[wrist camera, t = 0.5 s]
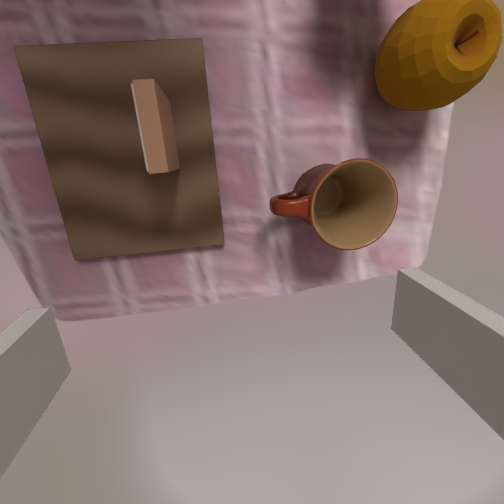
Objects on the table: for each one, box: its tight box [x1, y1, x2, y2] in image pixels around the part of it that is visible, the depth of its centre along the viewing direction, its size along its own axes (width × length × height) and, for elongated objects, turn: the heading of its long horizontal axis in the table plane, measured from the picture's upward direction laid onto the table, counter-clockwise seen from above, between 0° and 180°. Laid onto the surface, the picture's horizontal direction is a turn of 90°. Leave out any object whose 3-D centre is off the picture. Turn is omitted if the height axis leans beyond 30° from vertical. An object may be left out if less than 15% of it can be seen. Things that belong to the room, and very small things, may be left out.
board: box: [14, 38, 225, 260], centre depth 33 cm, size 22×18×1 cm
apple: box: [374, 0, 502, 111], centre depth 29 cm, size 10×10×12 cm
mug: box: [270, 159, 398, 250], centre depth 32 cm, size 12×9×10 cm
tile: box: [131, 79, 180, 174], centre depth 28 cm, size 7×2×9 cm, turn 4°
